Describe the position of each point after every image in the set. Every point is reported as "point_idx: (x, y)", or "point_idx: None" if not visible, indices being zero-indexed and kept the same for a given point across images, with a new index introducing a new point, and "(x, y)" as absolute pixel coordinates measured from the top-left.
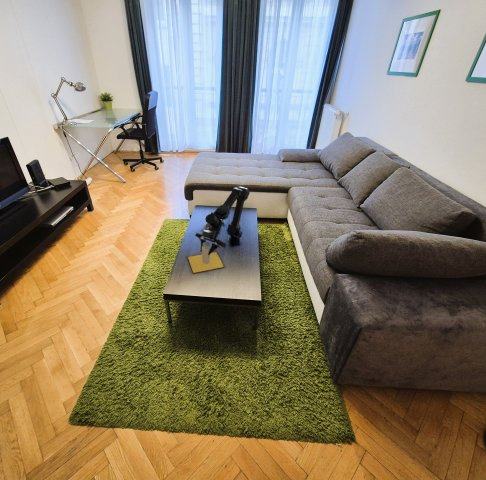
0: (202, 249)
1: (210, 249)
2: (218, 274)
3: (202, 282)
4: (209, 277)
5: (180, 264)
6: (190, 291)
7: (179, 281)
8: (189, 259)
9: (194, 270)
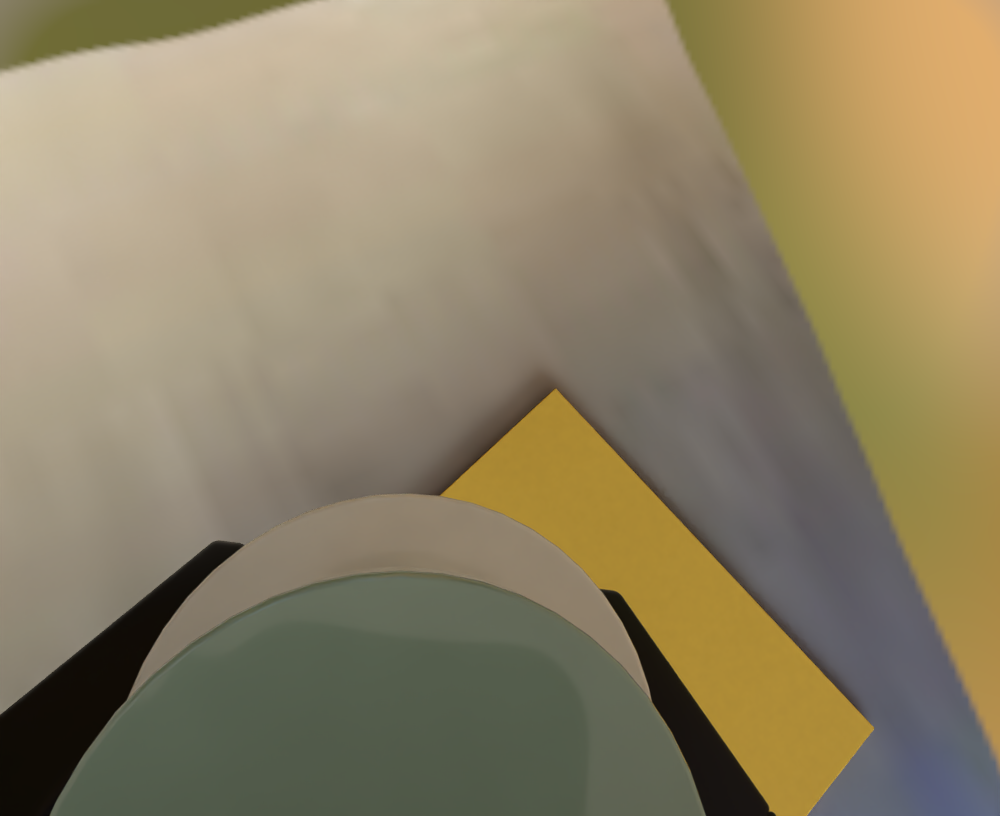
0: (510, 521)
1: (62, 744)
2: (130, 549)
3: (315, 256)
4: (257, 406)
5: (854, 492)
6: (393, 37)
7: (639, 152)
8: (808, 678)
9: (571, 447)
